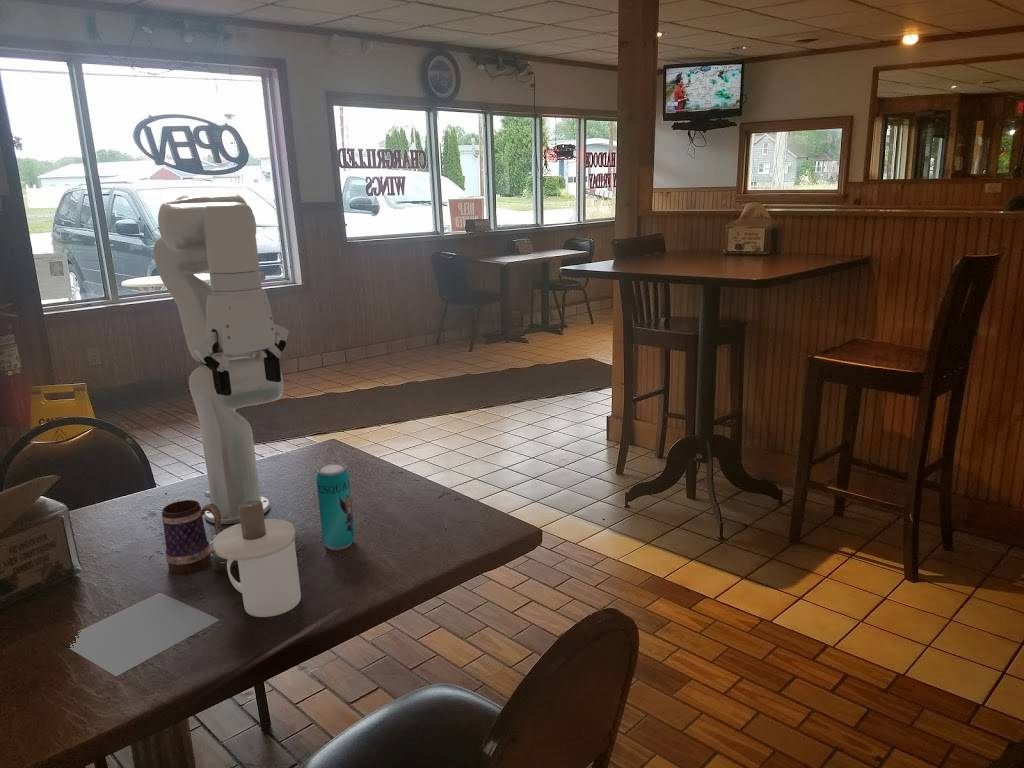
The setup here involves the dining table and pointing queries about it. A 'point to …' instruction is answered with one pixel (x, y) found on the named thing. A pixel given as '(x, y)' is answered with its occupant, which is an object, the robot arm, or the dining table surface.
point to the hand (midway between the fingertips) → (249, 387)
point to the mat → (139, 633)
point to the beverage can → (335, 506)
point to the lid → (253, 535)
